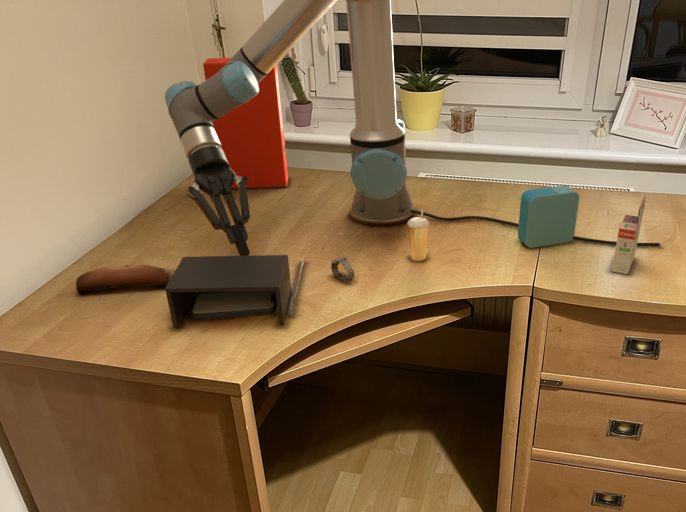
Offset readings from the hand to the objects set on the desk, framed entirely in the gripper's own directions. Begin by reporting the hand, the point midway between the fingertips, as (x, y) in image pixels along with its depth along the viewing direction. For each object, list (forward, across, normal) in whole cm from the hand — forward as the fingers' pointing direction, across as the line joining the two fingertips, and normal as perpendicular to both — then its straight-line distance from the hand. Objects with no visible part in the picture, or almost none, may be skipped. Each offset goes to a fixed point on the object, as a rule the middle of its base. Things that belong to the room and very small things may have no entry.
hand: (245, 255), depth 144 cm
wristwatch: (+12, -16, +5) cm, 20 cm away
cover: (+12, +7, +5) cm, 15 cm away
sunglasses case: (-4, +22, -11) cm, 25 cm away
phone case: (+11, +7, +4) cm, 14 cm away
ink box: (+31, -69, +23) cm, 79 cm away
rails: (+7, +3, 0) cm, 7 cm away
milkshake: (+12, -35, +4) cm, 37 cm away
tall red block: (-34, -22, -41) cm, 58 cm away
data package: (+18, -63, +10) cm, 67 cm away
